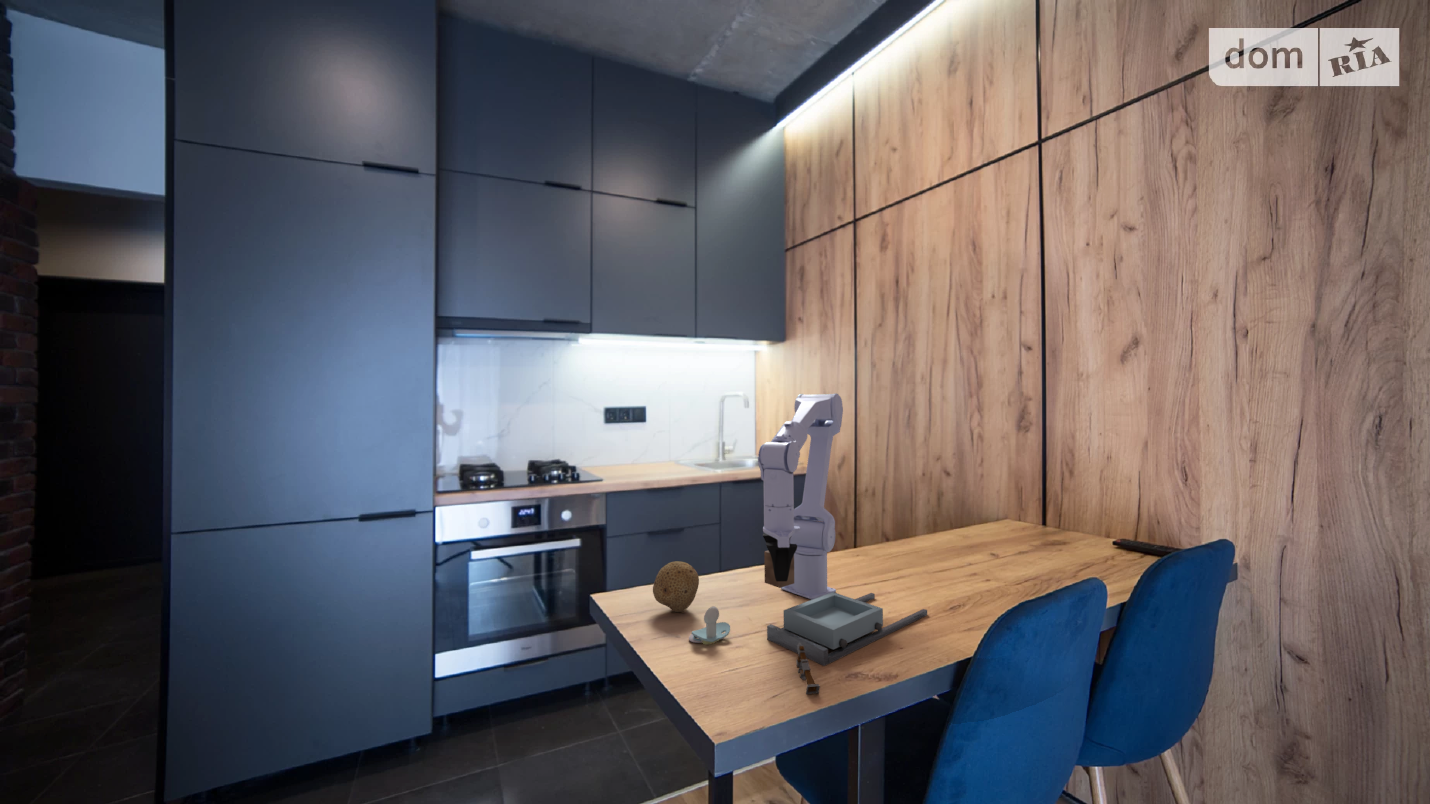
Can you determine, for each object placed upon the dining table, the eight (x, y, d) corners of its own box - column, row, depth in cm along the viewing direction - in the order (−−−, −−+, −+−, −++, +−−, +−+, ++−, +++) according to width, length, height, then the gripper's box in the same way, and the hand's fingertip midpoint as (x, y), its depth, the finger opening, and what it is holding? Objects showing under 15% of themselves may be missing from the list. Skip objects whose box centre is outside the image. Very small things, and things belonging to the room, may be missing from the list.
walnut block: (764, 582, 103) (764, 551, 104) (779, 578, 106) (778, 547, 106) (779, 588, 100) (779, 555, 100) (794, 583, 103) (794, 551, 103)
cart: (780, 626, 96) (780, 609, 97) (830, 607, 105) (830, 591, 105) (837, 651, 87) (836, 631, 87) (886, 627, 96) (886, 609, 96)
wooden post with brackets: (802, 660, 85) (805, 639, 83) (816, 706, 78) (820, 685, 76) (791, 661, 85) (793, 640, 83) (804, 707, 78) (807, 685, 76)
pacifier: (681, 641, 95) (702, 651, 90) (680, 605, 95) (701, 614, 90) (713, 629, 99) (734, 639, 95) (712, 595, 100) (733, 603, 95)
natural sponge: (661, 624, 101) (660, 571, 101) (647, 608, 109) (646, 558, 110) (705, 616, 105) (705, 564, 105) (688, 600, 113) (688, 553, 113)
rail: (767, 639, 94) (767, 625, 94) (871, 597, 114) (871, 586, 114) (824, 666, 85) (824, 650, 85) (927, 615, 104) (927, 602, 104)
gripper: (806, 511, 96) (806, 588, 96) (794, 497, 110) (794, 563, 110) (766, 512, 96) (767, 588, 96) (759, 497, 110) (760, 564, 110)
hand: (779, 575), depth 103 cm, fingers closed on walnut block, 6 cm apart
